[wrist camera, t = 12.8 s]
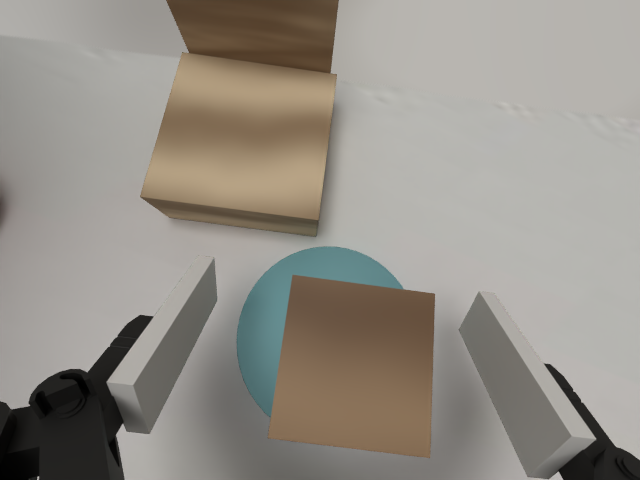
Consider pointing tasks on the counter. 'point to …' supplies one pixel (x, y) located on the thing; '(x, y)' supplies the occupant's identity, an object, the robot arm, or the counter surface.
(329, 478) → the counter surface
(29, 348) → the counter surface
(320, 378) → the block
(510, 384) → the robot arm
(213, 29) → the ledge
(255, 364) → the teal flattened ellipsoid
